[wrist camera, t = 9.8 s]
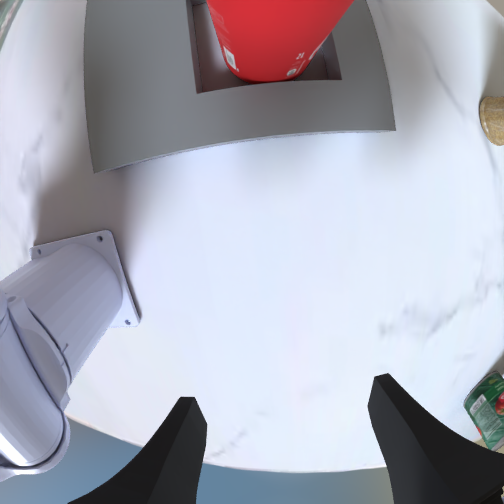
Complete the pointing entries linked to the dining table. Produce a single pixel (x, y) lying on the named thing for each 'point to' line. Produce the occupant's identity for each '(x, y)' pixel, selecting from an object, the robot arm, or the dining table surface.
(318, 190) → the dining table surface
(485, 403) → the canned tomato
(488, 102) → the sprinkles bottle
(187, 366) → the dining table surface
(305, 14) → the red soda can
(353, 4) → the grey tray with recess
